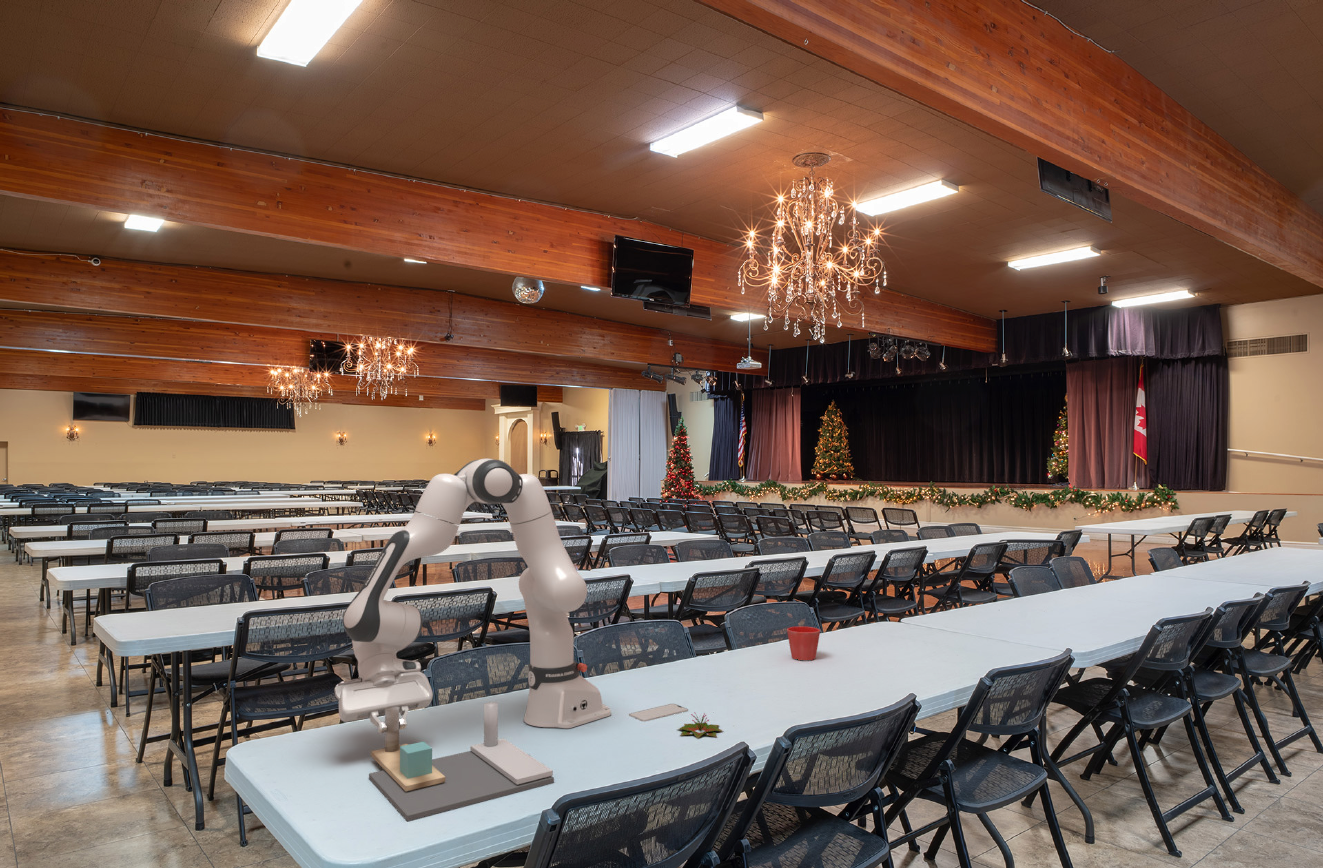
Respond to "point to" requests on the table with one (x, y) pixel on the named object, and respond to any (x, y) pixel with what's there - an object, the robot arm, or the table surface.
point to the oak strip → (391, 756)
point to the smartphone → (658, 712)
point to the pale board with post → (507, 752)
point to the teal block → (415, 760)
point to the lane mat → (451, 786)
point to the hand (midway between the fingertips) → (393, 729)
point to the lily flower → (699, 728)
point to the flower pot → (803, 642)
